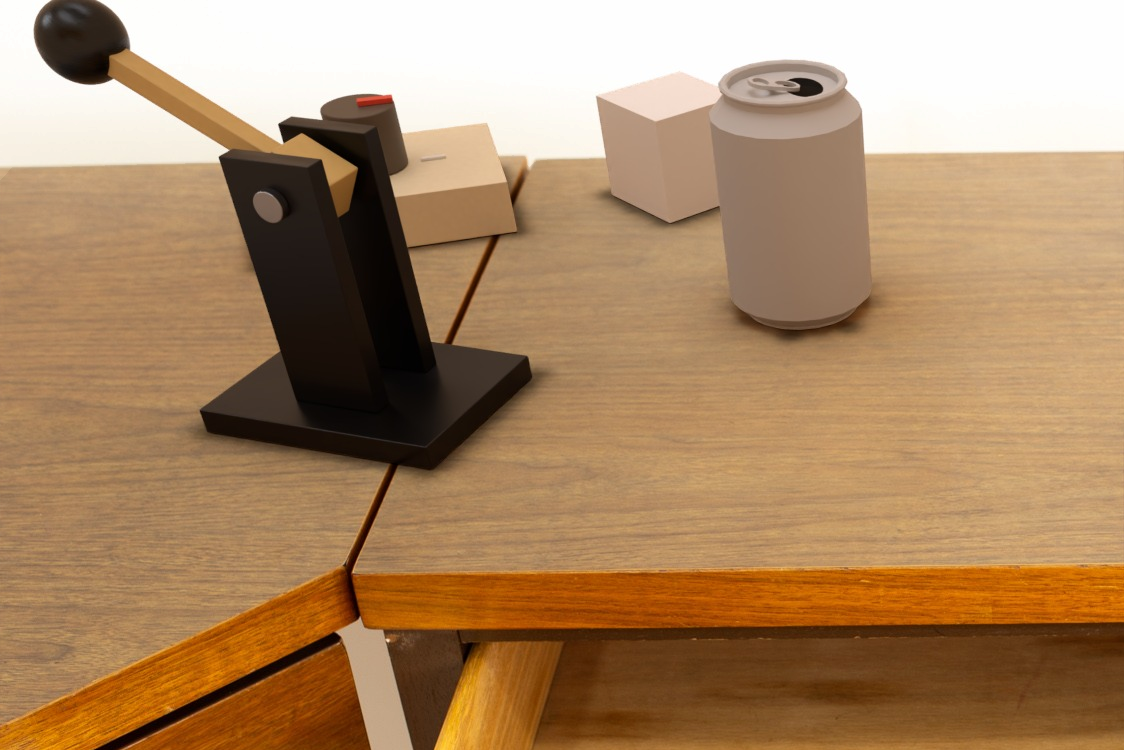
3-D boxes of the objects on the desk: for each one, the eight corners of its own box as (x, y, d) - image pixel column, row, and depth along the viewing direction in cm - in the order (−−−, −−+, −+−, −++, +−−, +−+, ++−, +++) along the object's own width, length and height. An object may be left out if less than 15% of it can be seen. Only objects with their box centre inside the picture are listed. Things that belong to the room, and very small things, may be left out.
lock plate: (260, 268, 87) (242, 214, 85) (258, 201, 95) (242, 150, 93) (517, 231, 91) (506, 178, 89) (497, 170, 99) (486, 119, 97)
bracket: (206, 432, 74) (108, 164, 66) (322, 345, 80) (246, 92, 72) (432, 470, 71) (359, 196, 63) (532, 377, 78) (478, 118, 70)
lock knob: (337, 183, 89) (319, 116, 87) (334, 158, 92) (317, 93, 90) (411, 173, 90) (395, 107, 88) (405, 149, 93) (390, 84, 91)
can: (891, 322, 82) (880, 90, 75) (751, 347, 80) (725, 111, 73) (848, 265, 88) (833, 43, 80) (716, 287, 85) (688, 61, 78)
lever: (11, 66, 67) (14, -9, 65) (72, 40, 70) (77, -33, 68) (307, 247, 69) (321, 181, 66) (356, 215, 71) (370, 150, 69)
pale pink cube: (611, 195, 95) (595, 95, 92) (692, 168, 99) (679, 70, 95) (670, 223, 92) (655, 120, 88) (751, 194, 95) (740, 94, 92)
